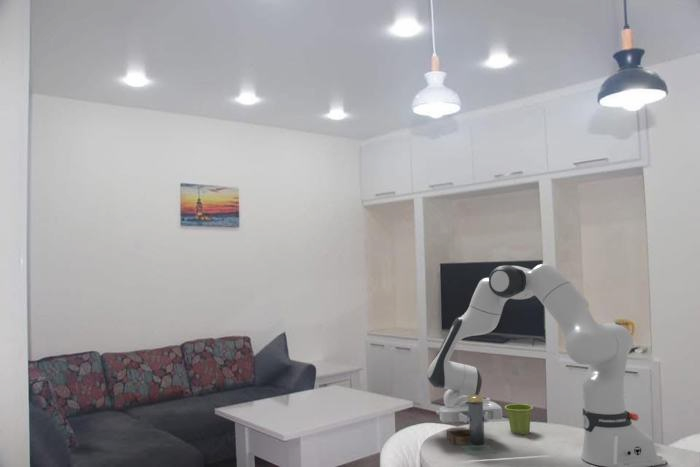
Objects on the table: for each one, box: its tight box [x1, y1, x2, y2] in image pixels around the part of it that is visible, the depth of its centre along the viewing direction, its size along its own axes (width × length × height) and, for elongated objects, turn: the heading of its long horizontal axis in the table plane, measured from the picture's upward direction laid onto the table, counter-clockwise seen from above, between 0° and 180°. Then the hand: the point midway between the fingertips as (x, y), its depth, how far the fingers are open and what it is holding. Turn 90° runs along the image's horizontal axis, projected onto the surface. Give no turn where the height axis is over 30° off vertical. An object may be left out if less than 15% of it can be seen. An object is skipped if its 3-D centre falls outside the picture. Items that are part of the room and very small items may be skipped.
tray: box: [446, 428, 470, 445], centre depth 191 cm, size 10×9×2 cm
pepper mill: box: [467, 394, 486, 446], centre depth 181 cm, size 5×5×14 cm
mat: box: [460, 443, 497, 456], centre depth 180 cm, size 9×9×1 cm
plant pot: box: [504, 403, 534, 435], centre depth 199 cm, size 9×9×9 cm
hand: (477, 419), depth 180 cm, fingers closed on pepper mill, 4 cm apart
